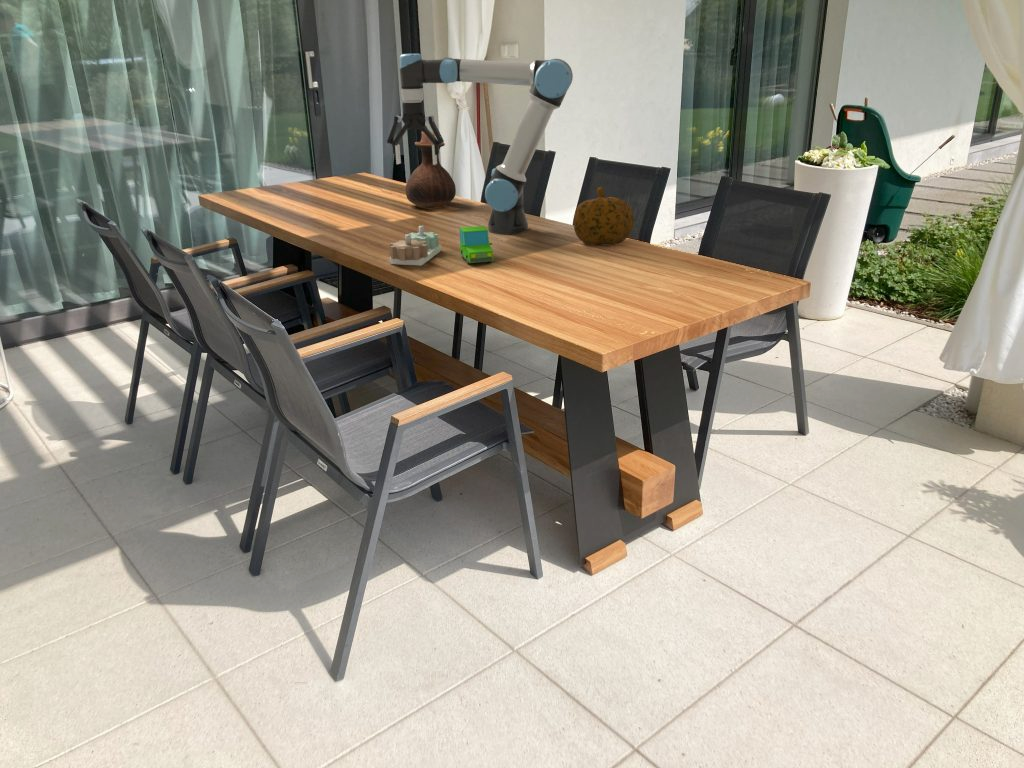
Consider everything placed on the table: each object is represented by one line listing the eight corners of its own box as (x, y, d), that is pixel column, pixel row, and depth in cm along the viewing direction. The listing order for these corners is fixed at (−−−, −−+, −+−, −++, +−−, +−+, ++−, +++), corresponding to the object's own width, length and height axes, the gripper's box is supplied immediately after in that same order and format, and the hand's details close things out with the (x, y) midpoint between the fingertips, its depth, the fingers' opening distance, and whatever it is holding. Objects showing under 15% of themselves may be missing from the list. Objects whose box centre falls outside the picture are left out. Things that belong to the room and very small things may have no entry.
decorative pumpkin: (636, 247, 286) (633, 188, 279) (575, 252, 288) (571, 193, 281) (632, 236, 305) (630, 180, 298) (575, 240, 307) (571, 185, 300)
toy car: (466, 267, 268) (465, 236, 264) (457, 257, 280) (456, 227, 276) (497, 264, 271) (496, 234, 267) (487, 255, 283) (486, 225, 279)
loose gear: (442, 243, 289) (441, 232, 288) (432, 251, 280) (431, 239, 278) (413, 242, 292) (413, 231, 290) (403, 249, 282) (402, 237, 281)
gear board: (443, 250, 288) (441, 224, 285) (420, 267, 268) (419, 240, 264) (409, 249, 291) (407, 223, 287) (384, 265, 271) (382, 238, 267)
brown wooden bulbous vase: (466, 204, 364) (464, 132, 352) (437, 212, 347) (433, 138, 336) (427, 199, 375) (423, 130, 363) (396, 207, 358) (391, 135, 346)
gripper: (450, 100, 290) (453, 162, 299) (382, 100, 295) (387, 162, 303) (444, 102, 283) (447, 166, 292) (375, 102, 288) (380, 165, 297)
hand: (416, 164), depth 298 cm, fingers open, 13 cm apart
